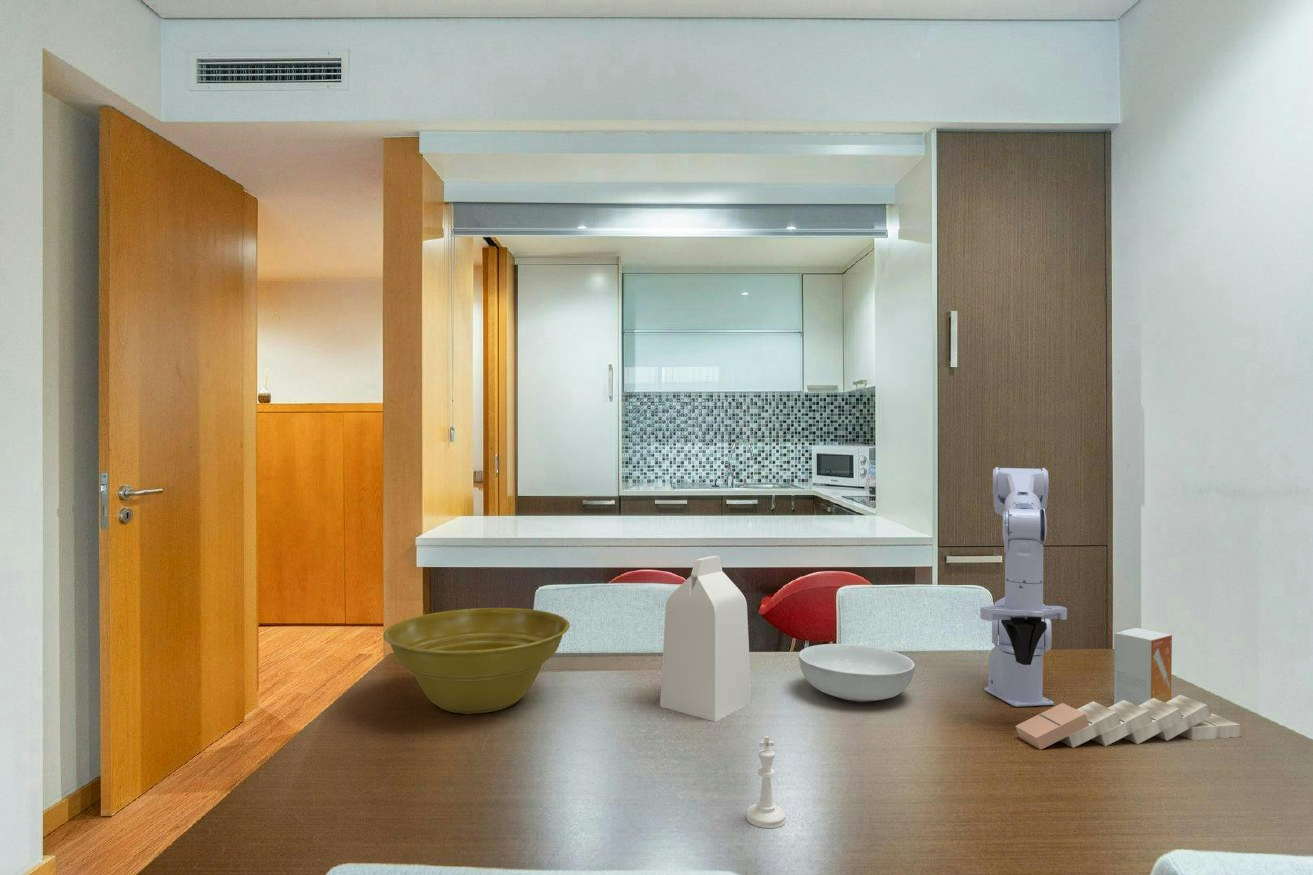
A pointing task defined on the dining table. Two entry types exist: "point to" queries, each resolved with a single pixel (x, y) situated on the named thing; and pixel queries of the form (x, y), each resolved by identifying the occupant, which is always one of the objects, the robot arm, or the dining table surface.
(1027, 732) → the head domino
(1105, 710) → the domino
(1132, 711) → the domino
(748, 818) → the chess piece
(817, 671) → the serving bowl
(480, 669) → the planter bowl
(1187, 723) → the domino
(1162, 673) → the small box
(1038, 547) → the robot arm
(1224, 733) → the domino
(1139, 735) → the domino
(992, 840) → the dining table surface
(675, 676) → the milk
